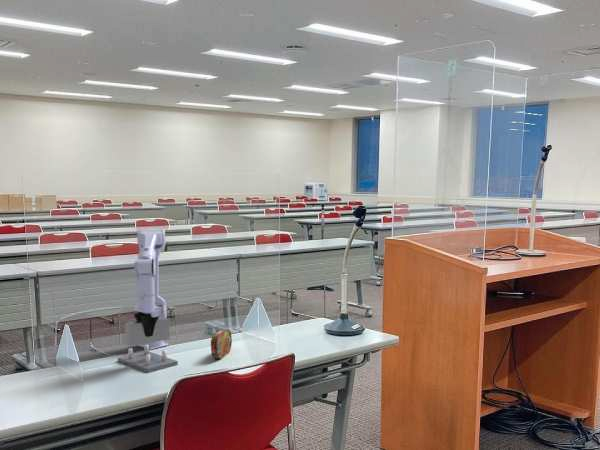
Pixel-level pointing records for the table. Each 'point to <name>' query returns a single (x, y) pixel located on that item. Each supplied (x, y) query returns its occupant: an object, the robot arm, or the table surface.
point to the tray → (148, 360)
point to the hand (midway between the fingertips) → (146, 335)
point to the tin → (221, 344)
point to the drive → (137, 332)
